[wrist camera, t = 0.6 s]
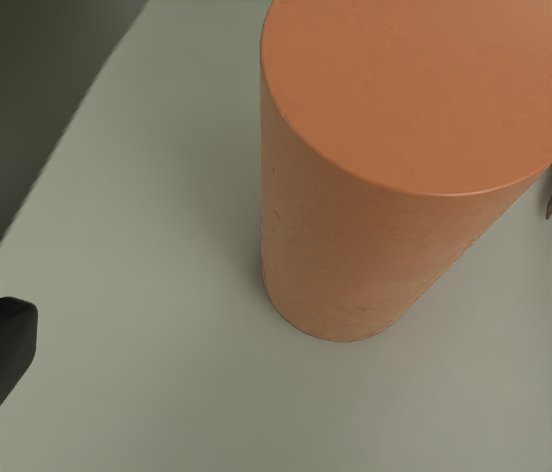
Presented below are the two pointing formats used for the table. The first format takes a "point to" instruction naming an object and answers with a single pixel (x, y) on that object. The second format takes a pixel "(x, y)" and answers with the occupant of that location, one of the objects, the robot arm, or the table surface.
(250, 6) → the table surface
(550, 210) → the bird figurine
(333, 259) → the copper pot
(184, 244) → the table surface
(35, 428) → the table surface
